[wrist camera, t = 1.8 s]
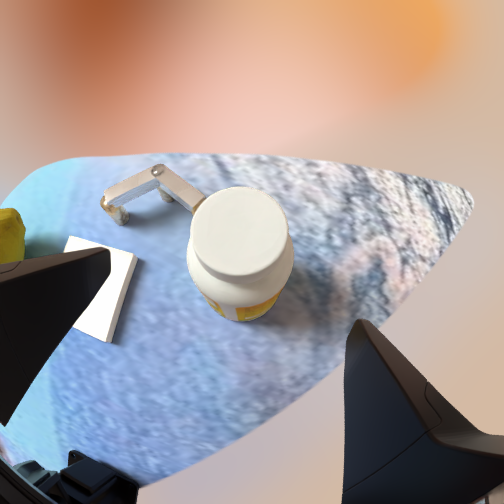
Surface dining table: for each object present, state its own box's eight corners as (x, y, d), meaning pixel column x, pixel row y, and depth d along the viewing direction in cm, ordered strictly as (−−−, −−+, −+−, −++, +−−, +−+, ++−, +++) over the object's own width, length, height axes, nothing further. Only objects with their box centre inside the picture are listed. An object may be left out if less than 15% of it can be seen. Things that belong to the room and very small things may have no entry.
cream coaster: (111, 342, 18) (105, 341, 17) (50, 312, 19) (43, 310, 18) (138, 258, 21) (133, 253, 20) (75, 239, 21) (70, 235, 20)
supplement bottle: (196, 311, 19) (152, 272, 10) (217, 243, 21) (197, 163, 12) (269, 330, 19) (289, 308, 10) (286, 260, 21) (314, 188, 12)
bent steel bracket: (207, 246, 21) (200, 225, 18) (112, 223, 22) (94, 203, 18) (224, 198, 23) (220, 172, 19) (132, 182, 23) (118, 157, 20)
